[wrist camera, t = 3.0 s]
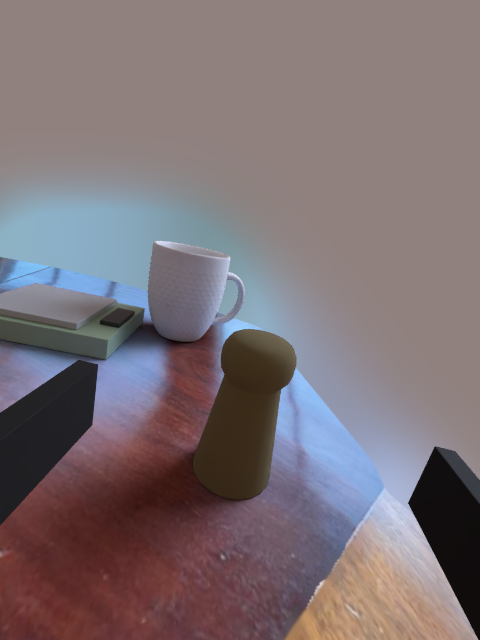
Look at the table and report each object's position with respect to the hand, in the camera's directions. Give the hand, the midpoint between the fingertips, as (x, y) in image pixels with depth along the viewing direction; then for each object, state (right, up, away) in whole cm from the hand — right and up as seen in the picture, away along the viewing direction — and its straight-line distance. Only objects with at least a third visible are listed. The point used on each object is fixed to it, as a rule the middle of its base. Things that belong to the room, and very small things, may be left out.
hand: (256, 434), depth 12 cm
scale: (-25, +4, +30) cm, 39 cm away
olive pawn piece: (-1, -7, +12) cm, 14 cm away
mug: (-9, +2, +37) cm, 38 cm away
